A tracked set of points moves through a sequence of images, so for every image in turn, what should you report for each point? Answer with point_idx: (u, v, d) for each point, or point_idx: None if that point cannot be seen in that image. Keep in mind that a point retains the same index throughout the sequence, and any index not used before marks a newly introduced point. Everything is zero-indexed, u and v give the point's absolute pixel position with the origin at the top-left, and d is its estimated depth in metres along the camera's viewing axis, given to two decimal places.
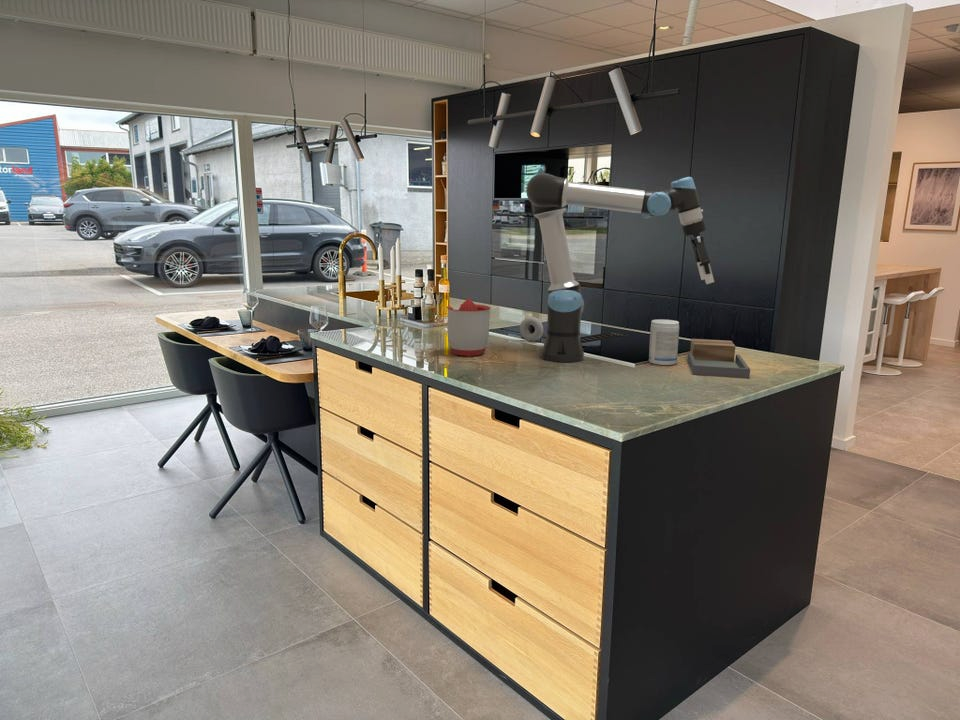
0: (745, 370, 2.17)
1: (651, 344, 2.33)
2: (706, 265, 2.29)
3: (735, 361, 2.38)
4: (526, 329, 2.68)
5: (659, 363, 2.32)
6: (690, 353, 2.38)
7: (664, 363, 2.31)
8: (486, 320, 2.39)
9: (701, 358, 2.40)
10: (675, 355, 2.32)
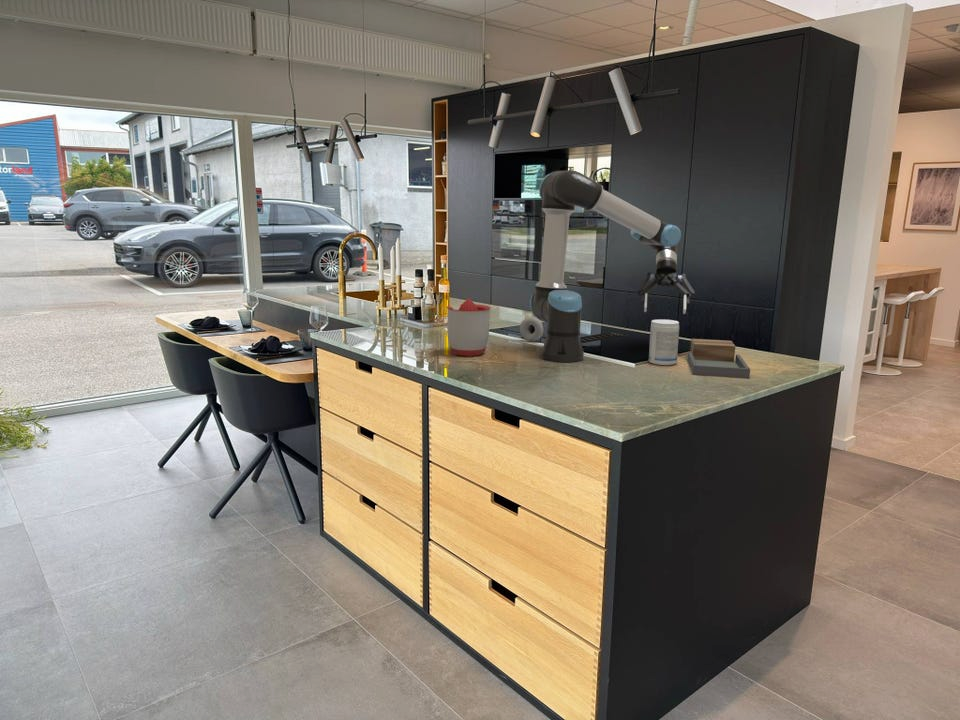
0: (745, 370, 2.17)
1: (651, 344, 2.33)
2: (689, 297, 2.44)
3: (735, 361, 2.38)
4: (526, 329, 2.68)
5: (659, 363, 2.32)
6: (690, 353, 2.38)
7: (664, 363, 2.31)
8: (486, 320, 2.39)
9: (701, 358, 2.40)
10: (675, 355, 2.32)
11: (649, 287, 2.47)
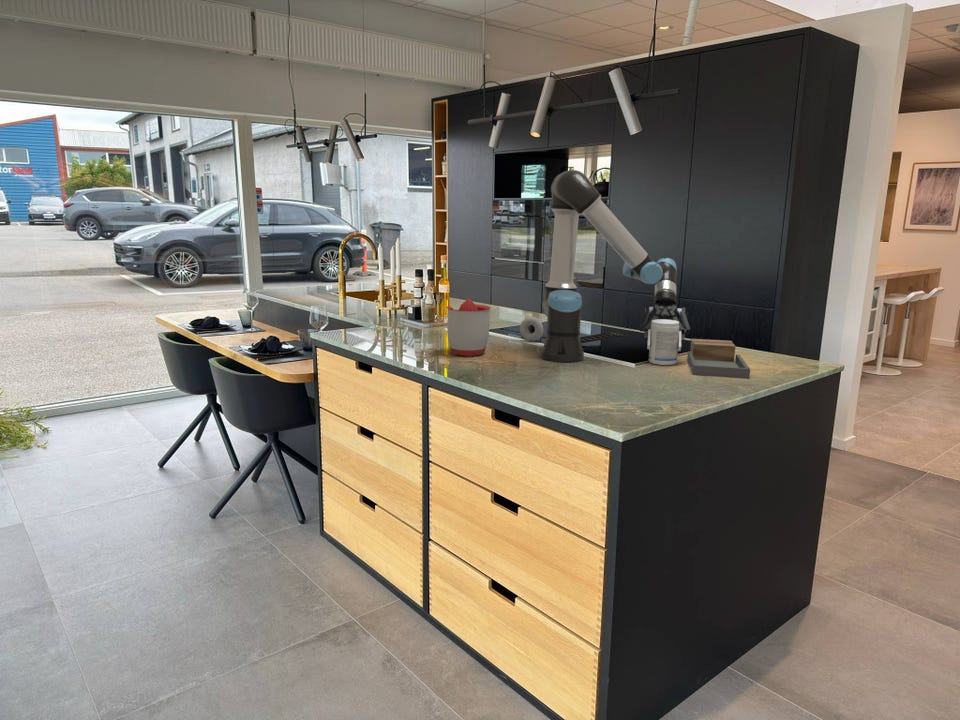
0: (745, 370, 2.17)
1: (651, 344, 2.33)
2: (684, 334, 2.34)
3: (735, 361, 2.38)
4: (526, 329, 2.68)
5: (659, 363, 2.32)
6: (690, 353, 2.38)
7: (664, 363, 2.31)
8: (486, 320, 2.39)
9: (701, 358, 2.40)
10: (675, 355, 2.32)
11: None
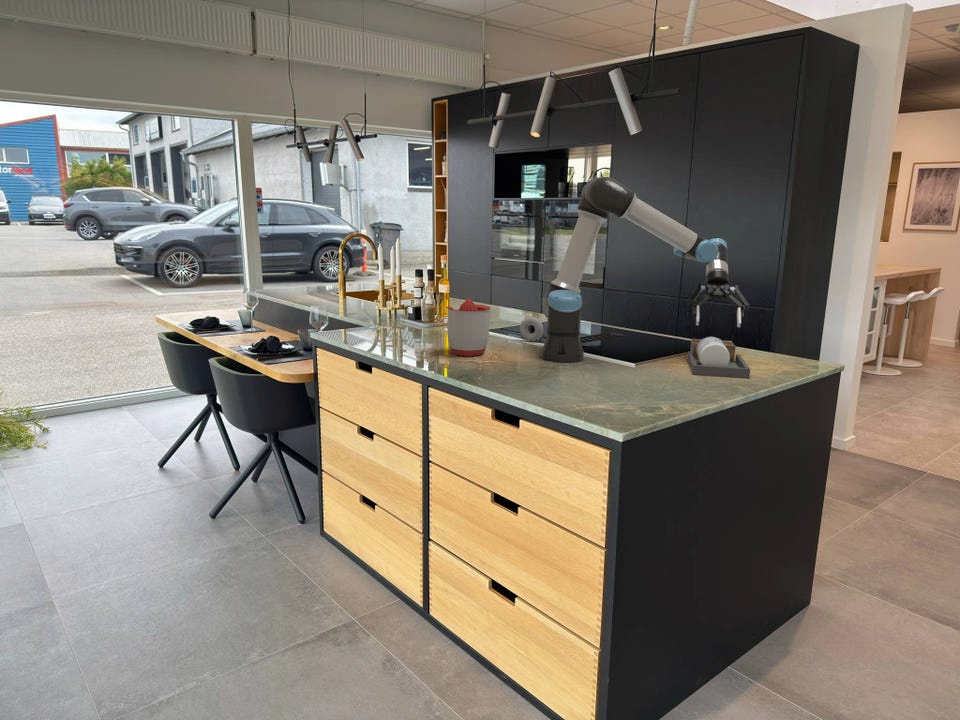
0: (745, 370, 2.17)
1: None
2: (743, 310, 2.34)
3: (735, 361, 2.38)
4: (526, 329, 2.68)
5: None
6: (690, 353, 2.38)
7: None
8: (486, 320, 2.39)
9: None
10: None
11: (701, 299, 2.37)
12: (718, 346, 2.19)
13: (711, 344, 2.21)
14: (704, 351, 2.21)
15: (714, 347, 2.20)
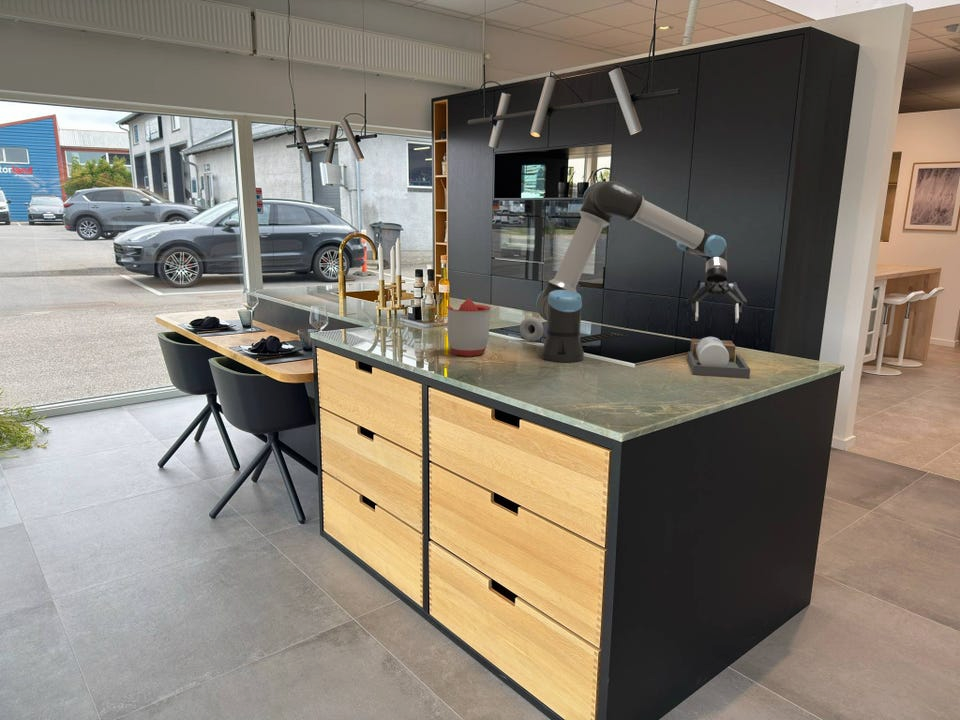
0: (745, 370, 2.17)
1: None
2: None
3: (735, 361, 2.38)
4: (526, 329, 2.68)
5: None
6: (690, 353, 2.38)
7: None
8: (486, 320, 2.39)
9: None
10: None
11: (700, 295, 2.44)
12: (717, 346, 2.20)
13: (710, 344, 2.21)
14: (703, 351, 2.21)
15: (713, 347, 2.20)
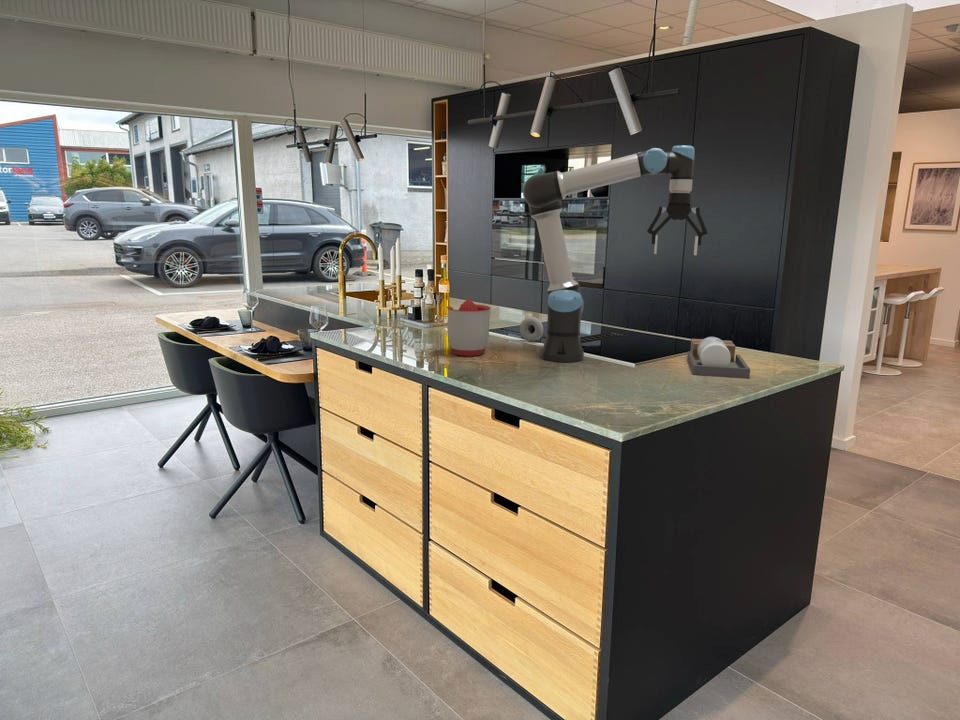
0: (745, 370, 2.17)
1: None
2: None
3: (735, 361, 2.38)
4: (526, 329, 2.68)
5: None
6: (690, 353, 2.38)
7: None
8: (486, 320, 2.39)
9: None
10: None
11: (660, 227, 2.37)
12: (719, 346, 2.19)
13: (713, 344, 2.21)
14: (705, 351, 2.21)
15: (715, 347, 2.20)
